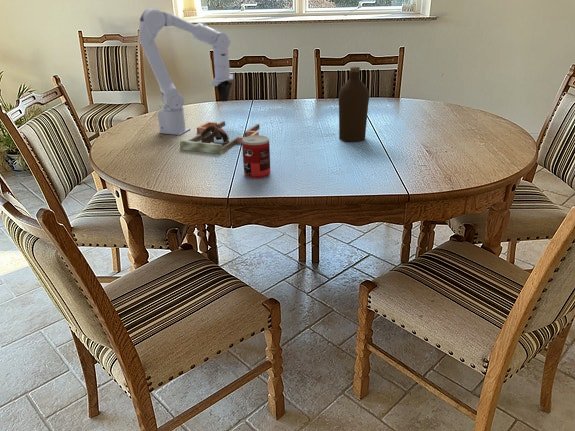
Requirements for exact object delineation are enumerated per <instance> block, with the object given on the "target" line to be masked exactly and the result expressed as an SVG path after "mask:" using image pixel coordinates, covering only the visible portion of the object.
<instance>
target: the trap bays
mask: <svg viewBox="0 0 575 431" xmlns="http://www.w3.org/2000/svg"><path fill="white" fill-rule="evenodd" d="M217 124H218V122H216V121H207V122H205V123H202V124H200V125H199V126H197V127H196V133H197V134H201V133H202V131H203V130H205V129H206V128H207V127H209V126H211V125H217ZM246 132H247V136H253V135H260V131H259V130H256V131H247V130H246ZM247 136H237V137H236V138H237V144H242V139H243V138H244V137H247Z"/></svg>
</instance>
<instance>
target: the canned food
mask: <svg viewBox="0 0 575 431" xmlns="http://www.w3.org/2000/svg"><path fill="white" fill-rule="evenodd" d="M243 137H244V138H243V139H242V143H241V146H242V147H241V148H242V149H241V150H242V161H243V173H244V176H245V177H246V178H250V179H263V178H267V177H268V176H270V173H271V149H270V144H271V143H270V138H269V137H268V136H266V135H261V134H259V135H253V136H247V137H246V136H243Z"/></svg>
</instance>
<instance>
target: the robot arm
mask: <svg viewBox="0 0 575 431" xmlns="http://www.w3.org/2000/svg"><path fill="white" fill-rule="evenodd" d="M172 26H173V27H176V28H178V29H181V30H183V31H186V32H187V33H190V34H192V36H193V38H194V39H195V40H198V41H200V42H203V43H204V44H207V45H211V46H212V50H213V64H214V78H213V79H212V80H211V86H212V87H215V88H216V90H217V92H218V94H219V97H220V100H221V102H228V101H229V94H230V89H231V87H232V85H233V82H232V81H233V80H234V73H231V71H230V59H229V58H230V57H229V47H230V44H231V40H230V39H229V36H228V35H227V34H226V33H224V32H222V31H221V32H220V31H219V29H218V28H212V27H210V26H208V25H207V23H206V22H202V23H201V22H198V23H196V24H194V23H192V22H190V21H188V20H185V19H183V18H181V17H179V16H177V15H175V14H173V13H169V12H166V11H162V10H159V9H154V8H147V9H145V10H144V11H142V14H141V16H140V17H139V29H138V41H139V43H140V45H141V48H142V50H143V52H144V55H145V56H146V59H147V61H148V63H149V66H150V68H151V70H152V72H153V74H154V77H155V79H156V81H157V84H158V86H159V90H160V92H161V96H160V97H161V101H162V102H163V104H164V106H163V107H162V108H160V109H159V110H158V114H157V120H158V126H159V131H158V133H159V134H166V135H167V134H169V135H179V136H180V135H182V134H184V133H186V132H188V131H190V130H191V128H190V127H186V120H185V119H186V118H185V112H184V103H185V100H184V97H183V96H182V95H181V93H179V92H178V89H177V88H176V86H175V84H174V83H173V81H172V78H171V76H170V74H169V72H168V69H167V67H166V64H165V62H164V60H163V58H162V55H161V53H160V51H159V49H158V46H157V44H156V40H155V39H156V37H157V35H158V33H159V32H160V31H161V30H162V29H163V28H164V27H172ZM231 80H232V81H231Z"/></svg>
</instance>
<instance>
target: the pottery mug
mask: <svg viewBox="0 0 575 431" xmlns="http://www.w3.org/2000/svg"><path fill="white" fill-rule="evenodd" d="M210 130H211V134H209V135H207V136H205V135H206V134H207V133H208V132H209V131H210ZM200 134H201V135H202V136H200V142H203V143H213V144H216V143H215V141H220V140H222V141H223V143H226V144H227V143H229V142H230V139H229V136H228V134H227V132H226V131H225V130H224V129H223V128H222V127H220V126H219V125H211V126H209V127H207V128H206V129H205V130H203V131H202V133H200ZM204 136H205V137H204Z"/></svg>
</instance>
